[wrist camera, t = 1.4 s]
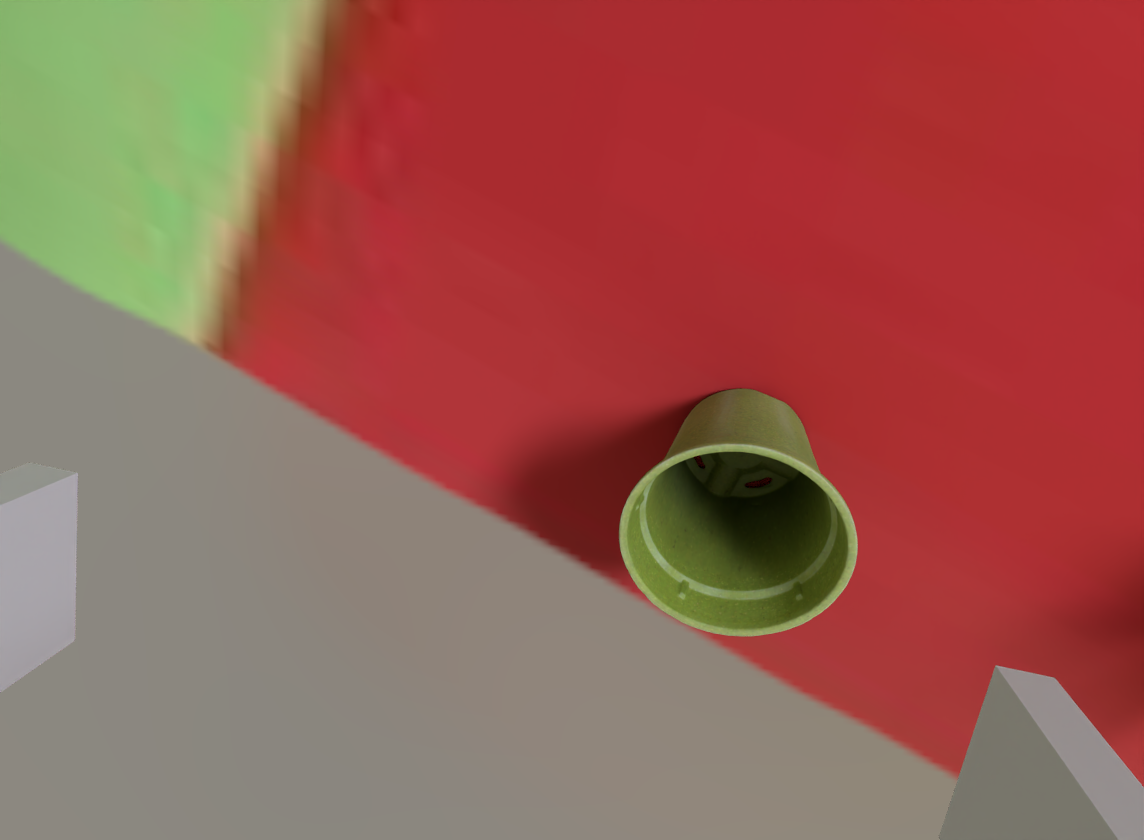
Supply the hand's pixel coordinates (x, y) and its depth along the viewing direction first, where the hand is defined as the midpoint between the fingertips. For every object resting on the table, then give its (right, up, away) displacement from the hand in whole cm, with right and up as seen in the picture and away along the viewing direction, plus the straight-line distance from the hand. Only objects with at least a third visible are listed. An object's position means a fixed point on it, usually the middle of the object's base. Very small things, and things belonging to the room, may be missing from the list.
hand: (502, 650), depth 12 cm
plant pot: (+9, +2, +30) cm, 31 cm away
